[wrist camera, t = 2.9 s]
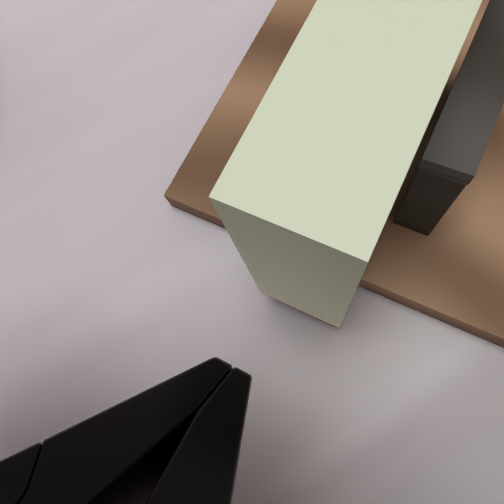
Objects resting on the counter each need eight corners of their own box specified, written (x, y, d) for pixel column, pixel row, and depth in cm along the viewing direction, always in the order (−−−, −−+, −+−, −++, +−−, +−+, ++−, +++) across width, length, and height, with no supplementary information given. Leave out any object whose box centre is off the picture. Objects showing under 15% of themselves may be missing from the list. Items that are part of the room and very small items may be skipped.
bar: (339, 328, 14) (367, 261, 7) (261, 292, 15) (208, 196, 8) (448, 77, 17) (560, -179, 9) (376, 56, 17) (424, -194, 10)
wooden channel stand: (508, 349, 15) (616, 328, 9) (171, 205, 18) (114, 132, 13) (623, 7, 18) (748, -146, 13) (321, -57, 22) (324, -197, 16)
